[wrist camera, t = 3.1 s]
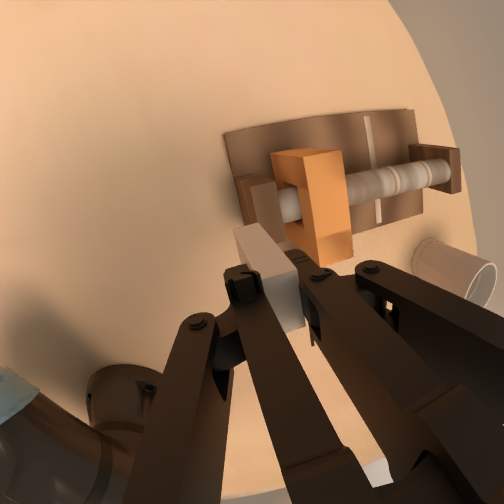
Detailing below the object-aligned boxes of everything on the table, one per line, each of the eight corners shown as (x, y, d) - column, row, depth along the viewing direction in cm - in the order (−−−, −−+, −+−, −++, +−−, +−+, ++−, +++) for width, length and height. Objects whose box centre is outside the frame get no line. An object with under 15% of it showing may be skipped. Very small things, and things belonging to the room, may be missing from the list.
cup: (413, 232, 37) (475, 264, 26) (446, 233, 38) (502, 260, 27) (402, 283, 40) (455, 324, 29) (435, 279, 41) (485, 313, 30)
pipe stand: (252, 259, 33) (273, 295, 25) (223, 134, 28) (236, 129, 20) (417, 210, 36) (460, 228, 28) (407, 110, 30) (455, 108, 23)
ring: (286, 235, 30) (319, 267, 22) (269, 153, 26) (303, 157, 19) (312, 227, 30) (353, 256, 22) (299, 147, 27) (341, 150, 19)
